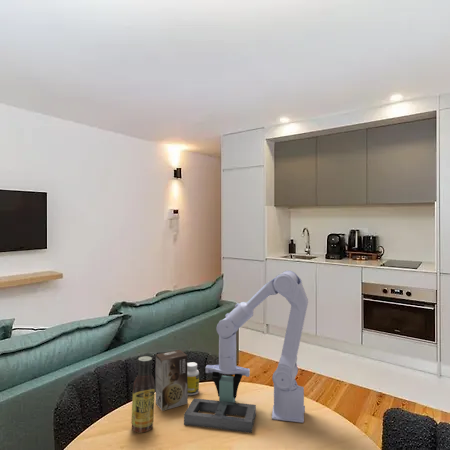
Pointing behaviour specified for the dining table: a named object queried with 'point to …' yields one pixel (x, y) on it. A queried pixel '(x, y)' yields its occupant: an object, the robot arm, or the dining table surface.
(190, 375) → the supplement bottle
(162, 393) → the coffee box
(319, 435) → the dining table surface
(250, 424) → the grey peg holder tray
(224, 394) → the peg
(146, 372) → the sauce bottle
